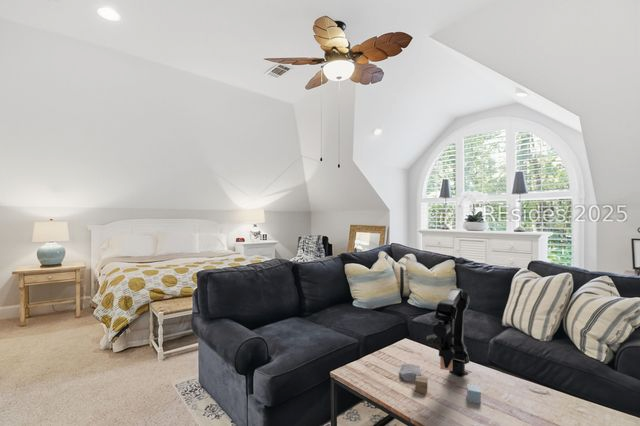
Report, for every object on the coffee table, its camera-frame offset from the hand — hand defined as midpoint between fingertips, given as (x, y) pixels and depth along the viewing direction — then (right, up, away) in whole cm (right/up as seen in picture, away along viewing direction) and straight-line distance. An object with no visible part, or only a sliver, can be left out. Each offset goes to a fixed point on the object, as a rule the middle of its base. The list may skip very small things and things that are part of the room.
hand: (446, 364), depth 147 cm
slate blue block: (+10, -13, -5) cm, 17 cm away
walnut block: (-10, -13, +3) cm, 17 cm away
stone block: (-12, -13, +16) cm, 23 cm away
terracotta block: (0, -1, 0) cm, 1 cm away
